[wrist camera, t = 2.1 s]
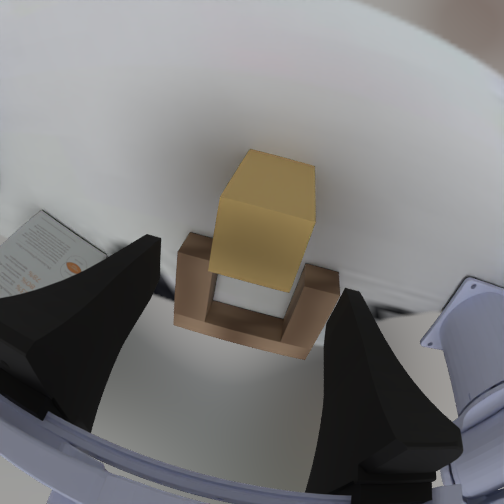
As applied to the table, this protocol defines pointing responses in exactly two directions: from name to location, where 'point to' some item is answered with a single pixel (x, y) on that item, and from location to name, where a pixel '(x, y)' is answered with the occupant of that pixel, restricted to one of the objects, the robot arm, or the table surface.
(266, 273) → the ochre block
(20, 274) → the small box
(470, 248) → the table surface
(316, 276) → the notched board
